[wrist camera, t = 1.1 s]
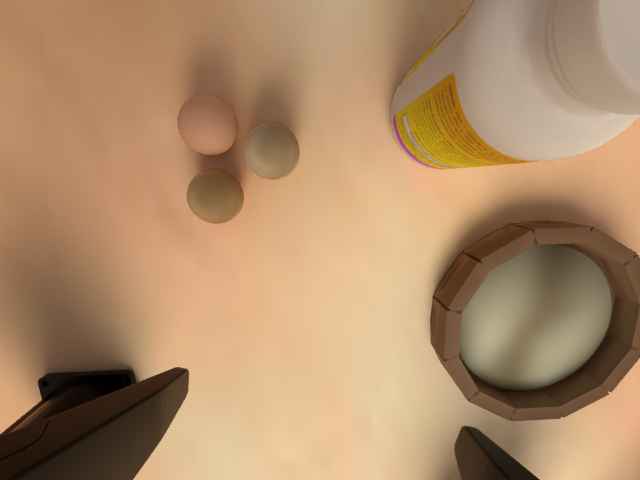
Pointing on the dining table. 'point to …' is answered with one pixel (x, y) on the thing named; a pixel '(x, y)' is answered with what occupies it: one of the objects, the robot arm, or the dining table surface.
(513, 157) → the supplement bottle
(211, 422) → the dining table surface
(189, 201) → the bead honey
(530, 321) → the faceted wooden bowl
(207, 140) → the pinkish tan ball
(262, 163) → the bead maple
